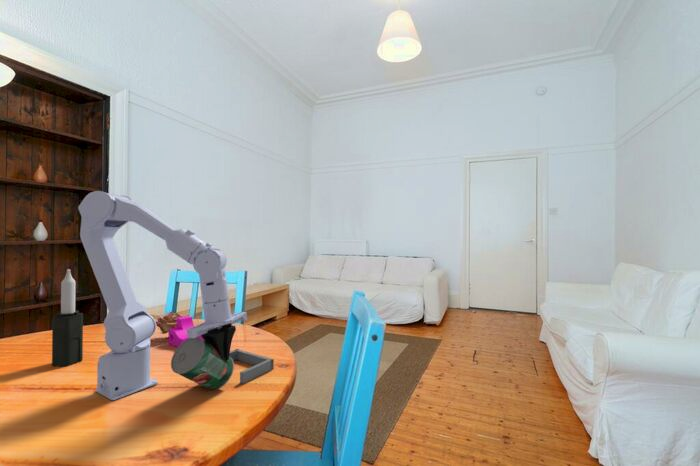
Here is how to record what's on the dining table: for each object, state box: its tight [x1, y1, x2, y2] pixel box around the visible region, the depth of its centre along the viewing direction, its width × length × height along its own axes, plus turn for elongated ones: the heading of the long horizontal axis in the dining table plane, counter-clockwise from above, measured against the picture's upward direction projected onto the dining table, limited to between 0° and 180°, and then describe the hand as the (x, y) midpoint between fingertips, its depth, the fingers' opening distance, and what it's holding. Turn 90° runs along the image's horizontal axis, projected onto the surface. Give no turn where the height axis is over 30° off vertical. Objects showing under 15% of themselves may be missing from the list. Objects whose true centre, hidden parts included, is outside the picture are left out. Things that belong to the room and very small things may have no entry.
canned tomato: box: [170, 337, 235, 390], centre depth 73 cm, size 8×8×11 cm
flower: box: [155, 311, 188, 335], centre depth 110 cm, size 10×9×8 cm
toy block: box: [168, 315, 205, 348], centre depth 103 cm, size 15×6×8 cm, turn 55°
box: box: [229, 348, 275, 384], centre depth 85 cm, size 10×14×2 cm
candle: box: [51, 268, 84, 368], centre depth 88 cm, size 5×5×25 cm
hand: (224, 360), depth 76 cm, fingers closed, pressing on canned tomato
